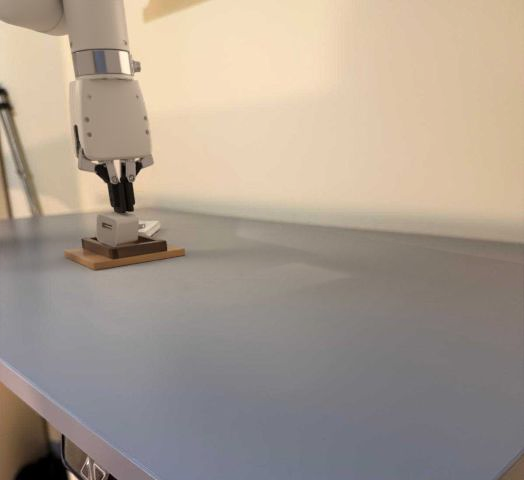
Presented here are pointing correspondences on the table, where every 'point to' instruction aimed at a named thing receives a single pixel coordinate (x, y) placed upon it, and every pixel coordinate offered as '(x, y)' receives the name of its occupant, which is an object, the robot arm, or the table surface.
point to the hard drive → (149, 227)
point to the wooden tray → (122, 252)
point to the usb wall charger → (117, 228)
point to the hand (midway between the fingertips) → (124, 211)
